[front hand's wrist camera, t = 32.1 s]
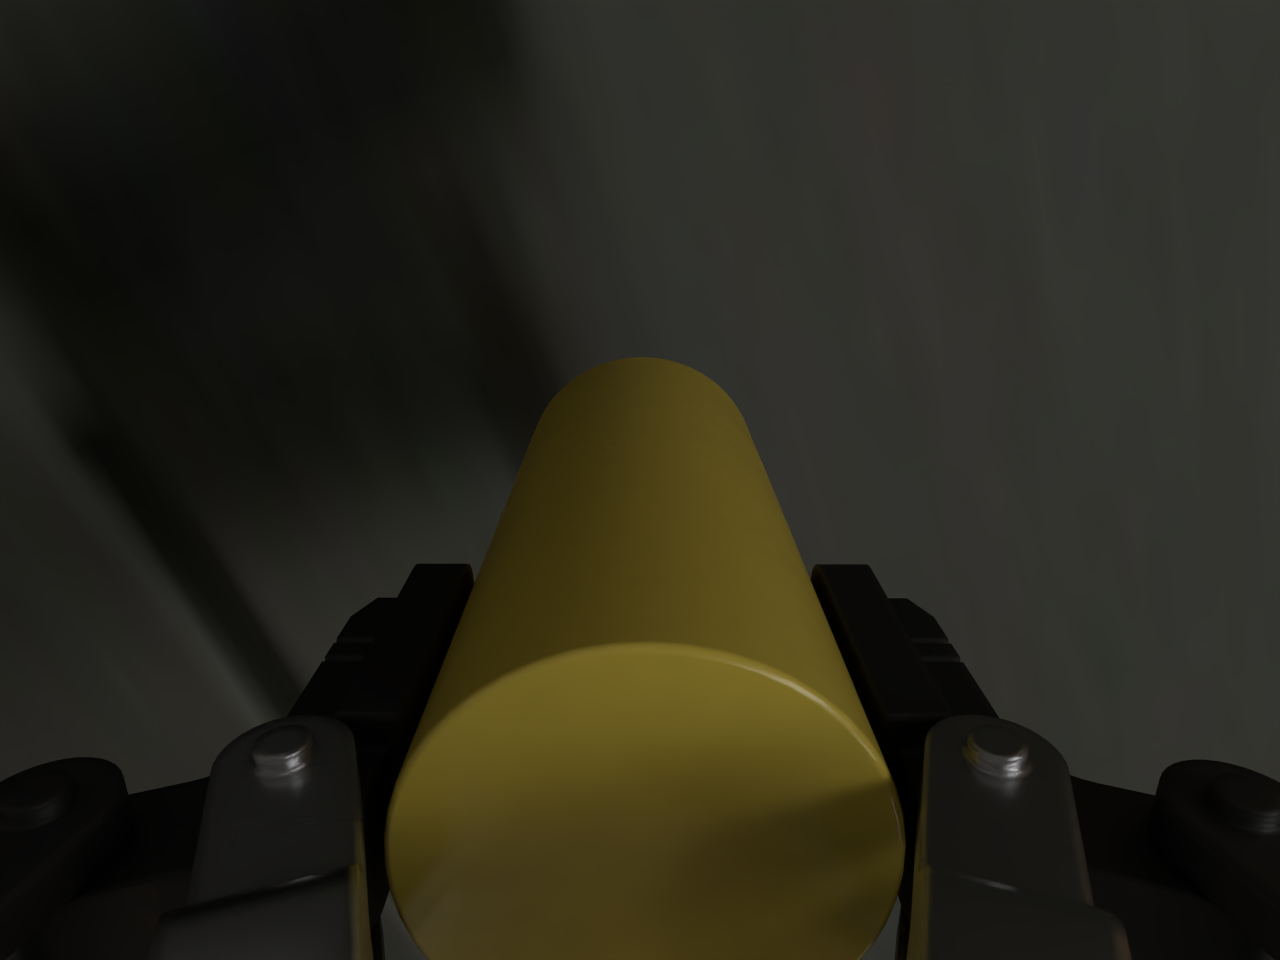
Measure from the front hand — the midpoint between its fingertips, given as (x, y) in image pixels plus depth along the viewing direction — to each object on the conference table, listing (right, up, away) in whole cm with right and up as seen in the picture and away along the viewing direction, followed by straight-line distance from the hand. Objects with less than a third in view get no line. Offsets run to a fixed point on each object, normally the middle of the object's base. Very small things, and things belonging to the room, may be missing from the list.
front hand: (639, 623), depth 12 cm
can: (0, +2, +6) cm, 6 cm away
